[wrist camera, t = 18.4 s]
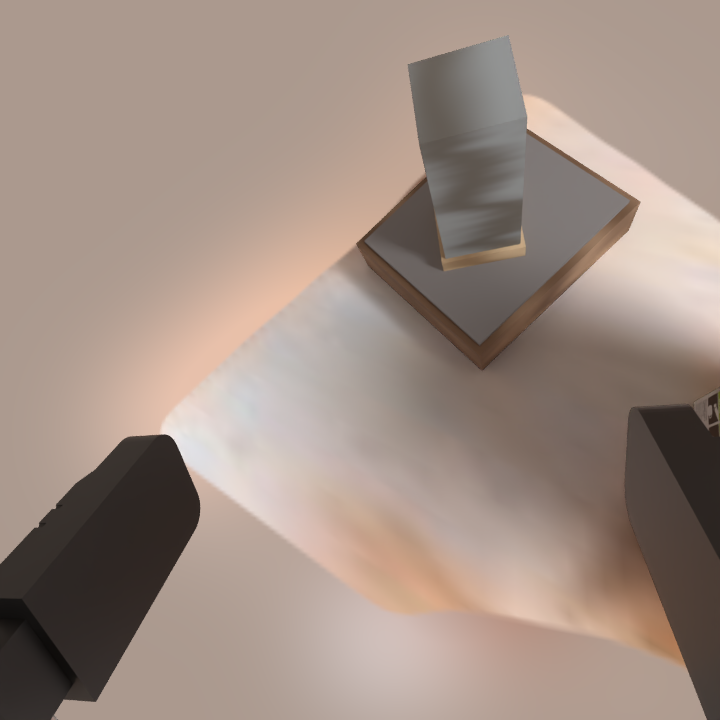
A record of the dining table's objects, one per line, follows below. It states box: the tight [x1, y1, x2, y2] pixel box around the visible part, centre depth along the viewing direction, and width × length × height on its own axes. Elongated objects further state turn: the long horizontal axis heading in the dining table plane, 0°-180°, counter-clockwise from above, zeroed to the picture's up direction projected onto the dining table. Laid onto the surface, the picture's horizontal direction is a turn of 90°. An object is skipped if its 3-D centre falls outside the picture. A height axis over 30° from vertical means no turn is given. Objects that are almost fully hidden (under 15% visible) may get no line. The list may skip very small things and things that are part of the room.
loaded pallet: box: [408, 35, 527, 271], centre depth 31 cm, size 6×6×13 cm
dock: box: [356, 129, 640, 370], centre depth 39 cm, size 15×13×4 cm
